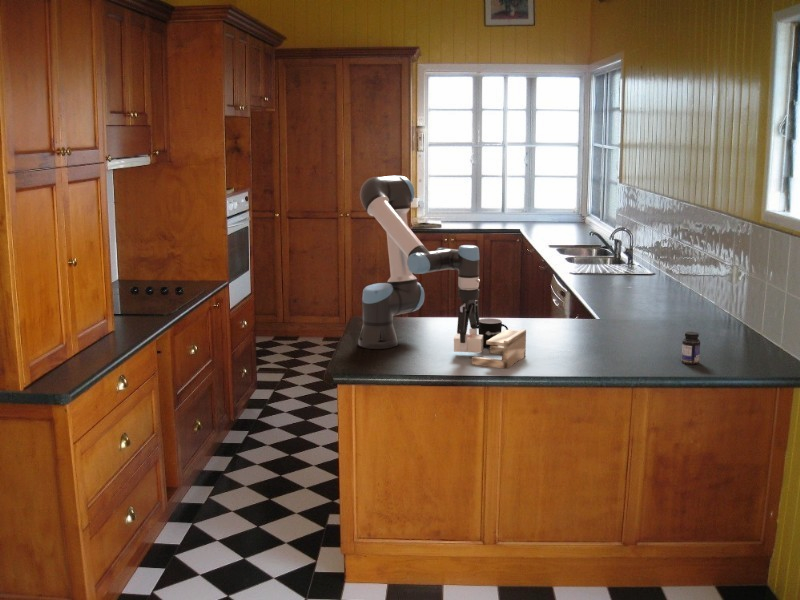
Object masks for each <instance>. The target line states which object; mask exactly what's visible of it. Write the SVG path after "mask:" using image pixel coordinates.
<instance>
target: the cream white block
mask: <svg viewBox="0 0 800 600" xmlns="http://www.w3.org/2000/svg"><path fill="white" fill-rule="evenodd" d="M467 334H468V343H467V352H466V353H482V352H483V349H484V347H483V335H479V334H477V335H472V334H469V333H467ZM453 352H459V353H460V352H461V353H465V352H464V351H460V334H457V333H456V334H455V336H454V338H453Z"/></svg>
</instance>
